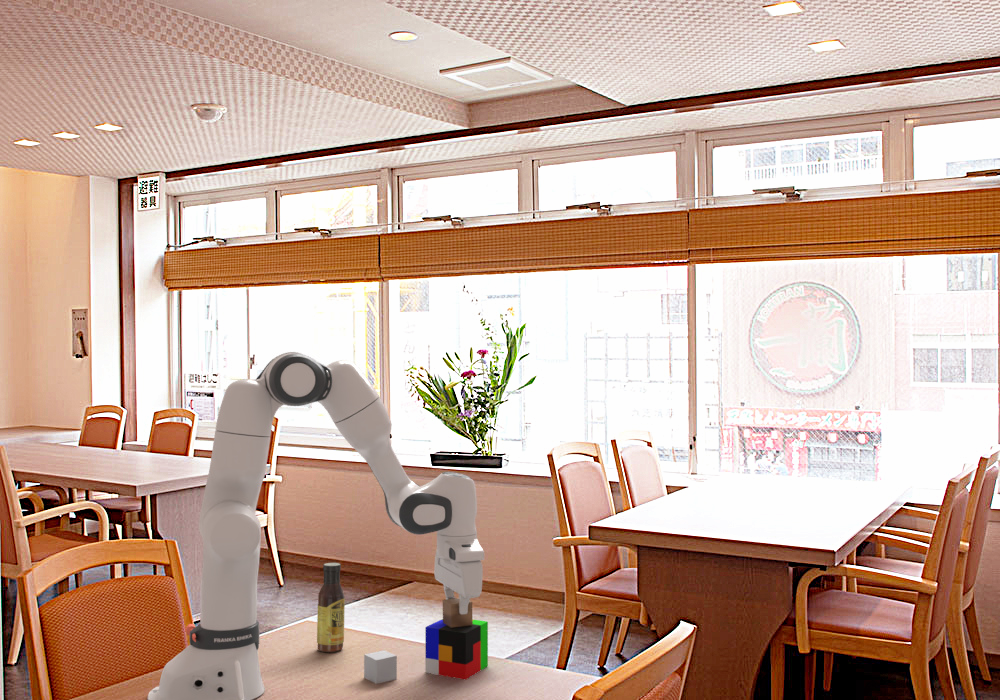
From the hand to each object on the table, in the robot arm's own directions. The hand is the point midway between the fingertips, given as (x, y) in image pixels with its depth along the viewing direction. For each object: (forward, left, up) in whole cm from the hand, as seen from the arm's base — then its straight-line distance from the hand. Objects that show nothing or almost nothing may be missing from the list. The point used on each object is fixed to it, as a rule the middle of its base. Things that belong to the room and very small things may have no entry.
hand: (456, 609), depth 208 cm
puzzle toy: (0, 0, -13) cm, 13 cm away
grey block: (-17, +1, -13) cm, 21 cm away
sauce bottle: (-22, +25, -13) cm, 36 cm away
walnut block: (0, 0, -3) cm, 3 cm away
